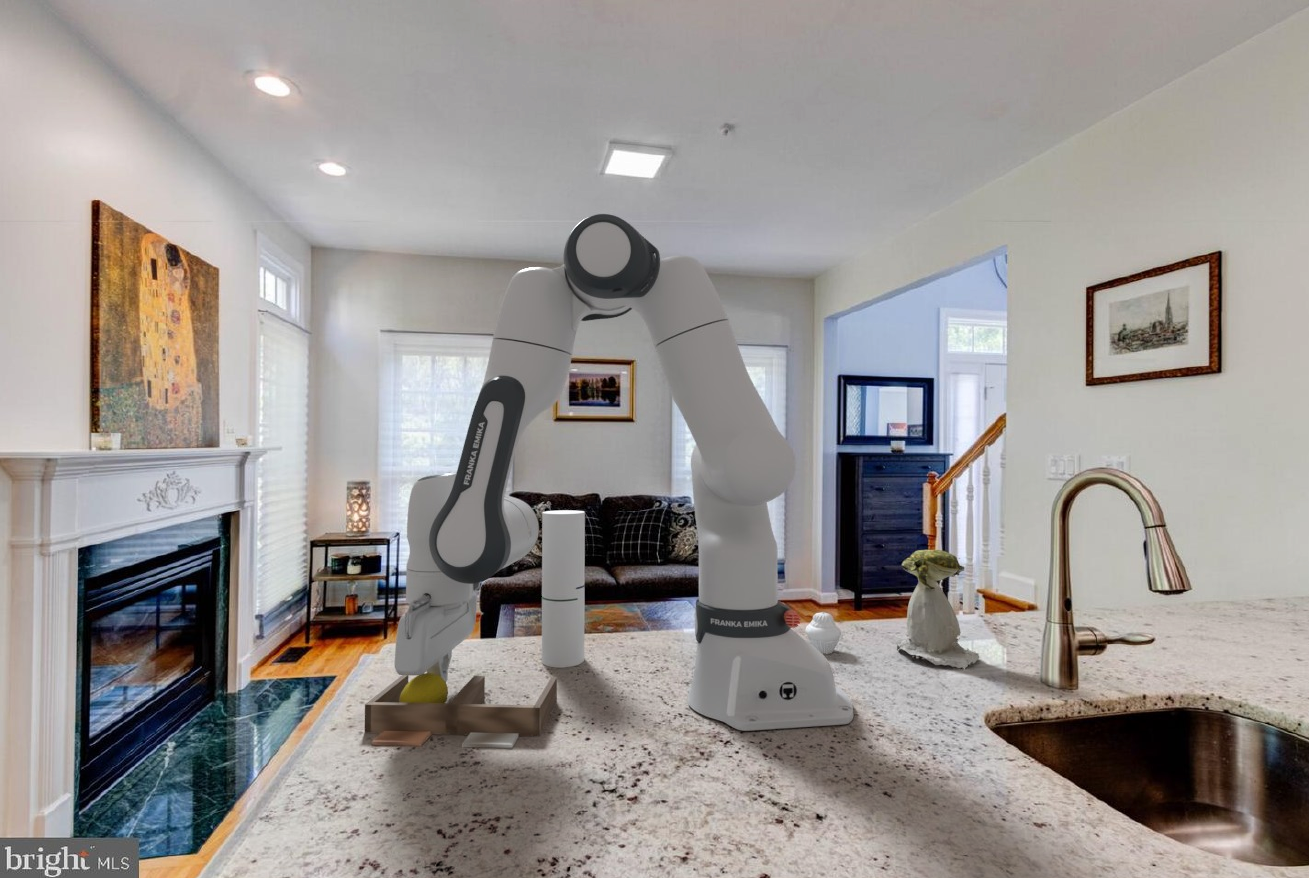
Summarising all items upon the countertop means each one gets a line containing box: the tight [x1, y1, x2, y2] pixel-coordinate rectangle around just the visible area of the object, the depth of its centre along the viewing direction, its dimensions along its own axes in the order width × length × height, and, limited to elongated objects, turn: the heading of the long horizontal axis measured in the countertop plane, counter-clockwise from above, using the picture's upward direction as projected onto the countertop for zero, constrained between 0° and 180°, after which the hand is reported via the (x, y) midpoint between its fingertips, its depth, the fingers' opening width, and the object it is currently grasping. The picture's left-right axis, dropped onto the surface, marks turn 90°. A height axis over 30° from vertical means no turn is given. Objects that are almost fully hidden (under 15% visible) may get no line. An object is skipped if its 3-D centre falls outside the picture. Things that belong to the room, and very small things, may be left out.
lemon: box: [399, 672, 449, 703], centre depth 84 cm, size 6×6×8 cm
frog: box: [896, 549, 980, 669], centre depth 110 cm, size 12×13×18 cm
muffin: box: [804, 611, 842, 654], centre depth 112 cm, size 6×6×7 cm
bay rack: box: [364, 675, 558, 749], centre depth 83 cm, size 22×14×4 cm, turn 87°
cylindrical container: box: [541, 509, 586, 668], centre depth 108 cm, size 7×7×25 cm
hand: (438, 685), depth 90 cm, fingers closed
